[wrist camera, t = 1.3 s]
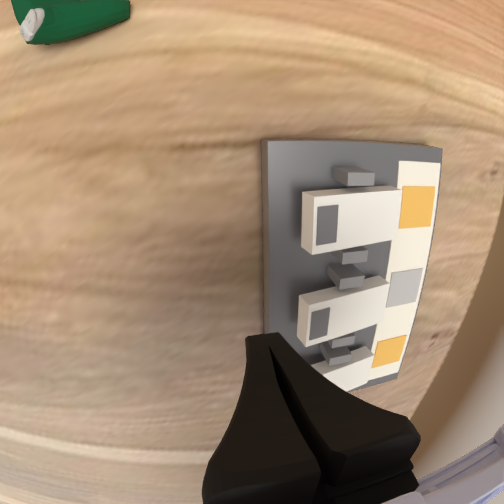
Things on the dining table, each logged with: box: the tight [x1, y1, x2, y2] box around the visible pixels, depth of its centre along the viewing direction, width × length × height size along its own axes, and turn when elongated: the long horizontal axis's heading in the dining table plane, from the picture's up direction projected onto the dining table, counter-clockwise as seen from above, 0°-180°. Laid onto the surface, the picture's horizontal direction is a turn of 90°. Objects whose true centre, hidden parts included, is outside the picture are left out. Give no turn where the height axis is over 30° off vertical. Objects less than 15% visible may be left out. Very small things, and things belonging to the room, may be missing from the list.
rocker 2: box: [297, 275, 390, 347], centre depth 20 cm, size 3×6×1 cm, turn 92°
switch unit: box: [261, 139, 443, 392], centre depth 21 cm, size 20×12×4 cm, turn 2°
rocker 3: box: [311, 346, 374, 392], centre depth 22 cm, size 3×6×1 cm, turn 92°
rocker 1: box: [301, 185, 403, 255], centre depth 17 cm, size 3×6×1 cm, turn 92°
